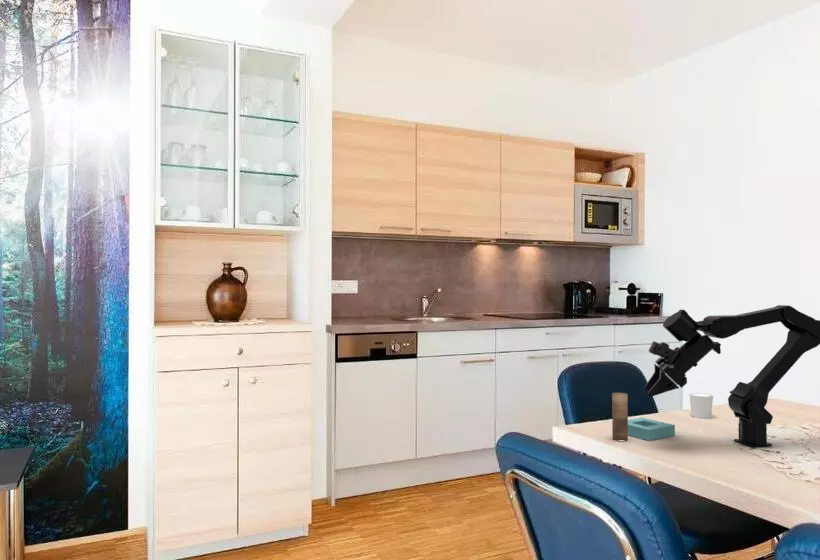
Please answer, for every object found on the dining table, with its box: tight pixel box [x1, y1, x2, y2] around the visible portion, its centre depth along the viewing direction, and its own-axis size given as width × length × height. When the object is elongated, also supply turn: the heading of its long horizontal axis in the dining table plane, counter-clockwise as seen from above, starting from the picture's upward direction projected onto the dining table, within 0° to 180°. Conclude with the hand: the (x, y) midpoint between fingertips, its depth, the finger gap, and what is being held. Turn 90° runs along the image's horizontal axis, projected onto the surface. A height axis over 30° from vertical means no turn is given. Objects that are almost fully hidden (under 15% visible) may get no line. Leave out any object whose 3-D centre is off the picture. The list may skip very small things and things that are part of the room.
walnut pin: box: [611, 392, 629, 441], centre depth 164 cm, size 4×4×12 cm
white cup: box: [689, 392, 714, 419], centre depth 192 cm, size 7×7×7 cm
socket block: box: [628, 417, 676, 442], centre depth 170 cm, size 11×11×3 cm
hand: (646, 392), depth 163 cm, fingers open, 9 cm apart
